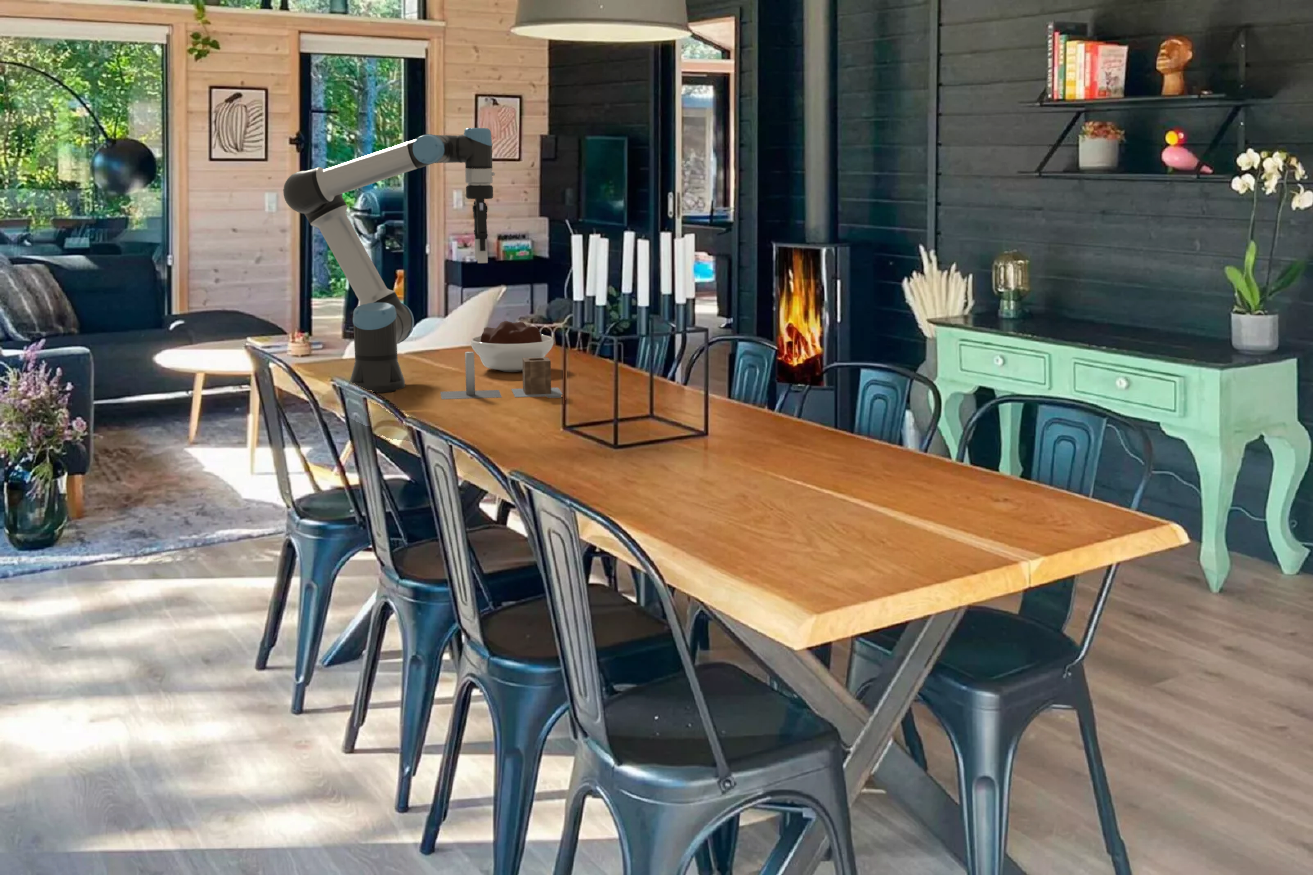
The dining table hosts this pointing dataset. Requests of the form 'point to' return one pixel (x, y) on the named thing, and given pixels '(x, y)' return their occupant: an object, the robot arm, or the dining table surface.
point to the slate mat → (554, 394)
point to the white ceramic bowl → (510, 345)
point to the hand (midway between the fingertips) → (481, 261)
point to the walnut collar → (536, 375)
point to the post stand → (470, 384)
